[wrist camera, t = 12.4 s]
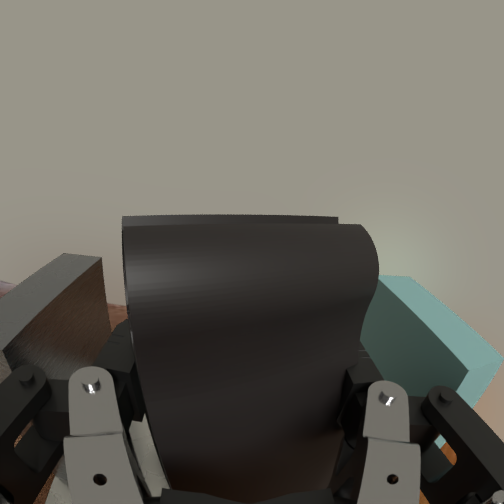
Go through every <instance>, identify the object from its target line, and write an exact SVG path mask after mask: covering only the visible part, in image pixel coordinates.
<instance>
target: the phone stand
mask: <svg viewBox="0 0 504 504" xmlns="http://www.w3.org/2000/svg"><path fill="white" fill-rule="evenodd" d="M122 255H123V272H124V285H125V295H126V306H127V315H128V323H129V331H130V338H131V343H132V349H133V354H134V358H135V362H136V367H137V372H138V376H139V381H140V385H141V390H142V394H143V399H144V403H145V407H146V411H145V416H146V420H147V423H148V427H149V430H150V434H151V437H152V440H153V443H154V446H155V449H156V452H157V455H158V458H159V461H160V464H161V467H162V470H163V472H164V475H165V478H166V480H167V483H168V485H169V488H170V489H172V490H179V491H187V492H196V493H205V494H208V495H212V496H215V497H219V498H223V499H227V500H231V501H236V502H241V503H246V504H252V503H257V502H261V501H265V500H269V499H273V498H277V497H280V496H284V495H287V494H291V493H298V492H307V491H314V490H321V489H326V488H327V487H328V485H329V482H330V480H331V477H332V473H333V470H334V466H335V462H336V459H337V455H338V451H339V447H340V442H341V439H342V437H343V436H344V431H343V428H342V426H341V425H340V424H339V423H338V422H336V420H337V415H338V411H339V406H340V401H341V396H342V391H343V385H344V380H345V374H346V368H349V367H351V366H353V365H355V364H357V363H358V359H359V343H360V336H361V330H362V326H363V322H364V318H365V315H366V312H367V310H368V307H369V305H370V302H371V300H372V298H373V296H374V294H375V291H376V288H377V284H378V278H379V262H378V256H377V252H376V248H375V245H374V243H373V241H372V239H371V237H370V235H369V234H368V232H367V231H366V230H365V229H364V227H363V226H361V225H359V224H358V225H357V224H338V217H325V216H291V215H153V216H152V215H151V216H123V217H122Z"/></svg>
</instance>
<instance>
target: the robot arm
mask: <svg viewBox="0 0 504 504" xmlns="http://www.w3.org/2000/svg"><path fill="white" fill-rule="evenodd" d="M365 350H366V349H365V348H364V346H363V345H362V343H361V341H360V343H359V359H358V363H357V364H355V365H353V366H351V367H349V368H346V374H345V380H344V385H343V391H342V396H341V401H340V406H339V411H338V415H337V420H336V422H338V423H339V424H340V425H341V426H342V428H343V431H344V436H343V437H342V439H341V442H340V447H339V451H338V455H337V459H336V462H335V466H334V470H333V473H332V477H331V480H330V482H329V485H328V487H327V488H326V489H321V490H314V491H307V492H298V493H291V494H287V495H284V496H280V497H277V498H273V499H269V500H265V501H261V502H257V503H252V504H419V494H420V490H421V491H422V493H423V494H424V496H425V497H426V499H427V500H428V502H429V503H430V504H504V443H503V442H502V441H501V439H500V438H499V437H498V436H497V435H496V434H495V433H494V432H493V430H492V429H491V428H490V427H489V426H488V425H487V424H486V423H485V422H484V421H483V420H482V419H481V418H480V417H479V415H478V414H477V413H476V412H475V411H474V410H473V409H472V408H471V407H470V406H469V405H468V404H467V403H466V402H465V401H464V400H463V399H462V398H461V396H460V395H459V394H458V393H457V392H455V391H454V390H453V389H451V388H449V387H446V386H434V387H433V388H431V389H430V391H429V392H428V394H427V396H426V397H418V396H408V395H407V393H406V391H405V390H404V389H403V388H402V387H401V386H399V385H398V384H396V383H394V382H390V381H385V380H384V378H383V377H382V375H381V373H380V372H379V370H378V369H377V367H376V365H375V364H374V362H373V360H372V359H371V358H370V356H369V354H368V352H367V351H365ZM145 411H146V407H145V403H144V399H143V394H142V390H141V385H140V381H139V376H138V372H137V367H136V362H135V358H134V354H133V349H132V343H131V338H130V331H129V323H128V319H126V320H124V321H123V322H121V323H120V324H118V325H117V326H116V328H115V329H114V331H113V332H112V335H111V336H110V337H109V339H108V340H107V343H106V344H105V345H104V347H103V348H102V350H101V352H100V353H99V355H98V357H97V358H96V360H95V362H94V363H93V365H92V366H91V367H84V368H81V369H79V370H77V371H76V372H74V373H73V374H72V376H71V377H70V379H69V380H57V379H47V376H46V374H45V372H44V370H43V369H42V368H40V367H39V366H37V365H31V364H29V365H23V366H20V367H18V368H17V369H15V370H14V371H13V372H12V373H11V374H10V375H9V376H8V377H7V378H6V379H5V380H4V381H3V382H2V383H1V384H0V504H33V503H34V501H35V499H36V498H37V496H38V494H39V493H40V491H41V489H42V487H43V486H44V484H45V483H46V481H47V479H48V478H49V476H50V474H51V473H52V471H53V469H54V468H55V466H56V465H57V463H58V462H59V460H60V458H61V457H62V455H63V454H64V455H65V464H66V472H67V479H68V485H69V491H70V496H71V501H72V504H246V503H241V502H236V501H231V500H227V499H223V498H219V497H215V496H212V495H208V494H205V493H196V492H187V491H179V490H172V489H166V488H162V491H161V496H156V497H152V495H151V492H150V490H149V488H148V485H147V483H146V481H145V478H144V476H143V473H142V470H141V467H140V464H139V461H138V458H137V455H136V451H135V448H134V445H133V441H132V438H131V434H130V431H129V429H130V426H131V422H132V421H137V422H142V421H143V417H144V414H145ZM29 422H31V423H32V425H31V427H30V428H29V429H28V431H27V432H26V433H25V435H24V436H23V437H22V438H21V440H20V441H19V442H18V444H17V445H16V446H15V448H14V443H15V440H16V439H17V438H18V436H19V435H20V434H21V432H22V431H23V430H24V429H25V427H26V426H27V425H28V424H29ZM440 434H441V435H442V437H443V438H444V439H445V440H446V442H447V443H448V444H449V445H450V447H451V448H452V449H453V450H454V452H455V453H456V456H457V461H456V464H455V465H452V464H451V463H450V461H449V460H448V459H447V457H446V456H445V455H444V454H443V452H442V451H441V450H440V448H439V447H438V446H437V445H436V443H435V440H436V439H437V438H438V437H439V436H440Z"/></svg>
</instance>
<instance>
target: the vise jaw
mask: <svg viewBox="0 0 504 504" xmlns="http://www.w3.org/2000/svg"><path fill="white" fill-rule="evenodd" d="M360 341H361V343H362V345H363V346H364V348H365V349H366V350H365V351H367V352H368V354H369V356H370V358H371V359H372V360H373V362H374V364H375V365H376V367H377V369H378V370H379V372H380V373H381V375H382V377H383V378H384V380H385V381H390V382H394V383H396V384H398V385H399V386H401V387H402V388H403V389H404V390H405V391H406V393H407V395H408V396H418V397H426V396H427V394H428V392H429V391H430V389H431V388H433V387H434V386H446V387H449V388H451V389H453V390H454V391H455V392H457V393H458V394H459V395H460V396H461V398H462V399H463V400H464V401H465V402H466V403H467V404H468V405H469V406H470V407H471V408H472V409H473V407H474V406H475V404H476V403H477V401H478V400H479V399H480V397H481V396H482V394H483V393H484V391H485V390H486V388H487V387H488V385H489V383H490V382H491V380H492V379H493V377H494V375H495V374H496V372H497V370H498V369H499V367H500V365H501V363H502V362H503V360H504V358H503V357H502V356H501V355H500V354H499V353H498V352H497V351H496V350H495V349H494V348H493V347H492V346H491V345H490V344H489V343H488V342H486V341H485V340H484V339H483V338H482V337H481V336H480V335H479V334H478V333H477V332H476V331H475V330H473V329H472V328H471V327H470V326H469V325H468V324H467V323H466V322H464V321H463V320H462V319H461V318H460V317H459V316H457V315H456V314H455V313H454V312H453V311H451V310H450V309H449V308H448V307H447V306H446V305H444V304H443V303H442V302H441V301H440V300H438V299H437V298H436V297H435V296H434V295H432V294H431V293H430V292H429V291H427V290H426V289H425V288H424V287H422V286H421V285H420V284H418V283H417V282H416V281H415V280H413V279H412V278H411V277H405V276H386V275H379V278H378V284H377V288H376V291H375V294H374V296H373V298H372V300H371V302H370V305H369V307H368V310H367V312H366V315H365V318H364V322H363V326H362V330H361V336H360ZM445 442H446V440H445V439H444V438H443V437H442V435H441V434H440V436H439V437H438V438H437V439H436V440H435V443H436V445H437V446H438V447H439V448H441V447H442V446H443V445H444V443H445Z"/></svg>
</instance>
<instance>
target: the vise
mask: <svg viewBox="0 0 504 504" xmlns="http://www.w3.org/2000/svg"><path fill="white" fill-rule="evenodd" d="M111 335H112V332H111V326H110V320H109V314H108V308H107V301H106V294H105V285H104V277H103V266H102V258H101V257H93V256H84V255H75V254H66V253H63V254H62V255H60V256H59V257H57V258H56V259H54V260H53V261H51V262H50V263H49V264H47V265H46V266H44V267H43V268H41V269H40V270H38V271H37V272H35V273H34V274H32V275H31V276H30V277H28V278H27V279H26V280H24V281H23V282H21V283H20V284H19V285H17V286H16V287H15V288H13V289H12V290H11V291H9V292H8V293H7V294H5V295H4V296H3V297H2V298H0V384H1V383H2V382H3V381H4V380H5V379H6V378H7V377H8V376H9V375H10V374H11V373H12V372H13V371H14V370H15V369H17V368H18V367H20V366H23V365H29V364H31V365H37V366H39V367H40V368H42V369H43V370H44V372H45V374H46V376H47V379H57V380H69V379H70V377H71V376H72V374H73V373H74V372H76V371H77V370H79V369H81V368H84V367H91V366H92V365H93V363H94V362H95V360H96V358H97V357H98V355H99V353H100V352H101V350H102V348H103V347H104V345H105V344H106V343H107V340H108V339H109V337H110V336H111ZM31 425H32V423H31V422H29V424H28V425H27V426H26V427H25V429H24V430H23V431H22V432H21V434H20V435H21V436H22V437H23V436H24V435H25V433H26V432H27V431H28V429H29V428H30V427H31ZM129 431H130V434H131V438H132V441H133V445H134V448H135V451H136V455H137V458H138V461H139V464H140V467H141V470H142V473H143V476H144V478H145V481H146V483H147V485H148V488H149V490H150V492H151V495H152V497H156V496H161V491H162V488H166V489H170V488H169V485H168V483H167V480H166V478H165V475H164V472H163V470H162V467H161V464H160V461H159V458H158V455H157V452H156V449H155V446H154V443H153V440H152V437H151V434H150V430H149V427H148V423H147V420H146V416H145V414H144V417H143V421H142V422H137V421H132V422H131V426H130V429H129ZM52 472H53V474H54V475H55V477H54V480H53V483H52V485H51V488H50V491H49V494H48V496H47V499H46V502H45V504H72V501H71V496H70V491H69V485H68V479H67V472H66V464H65V455H64V454H63V455H62V457H61V458H60V460H59V462H58V463H57V465H56V466H55V468H54V469H53V471H52Z"/></svg>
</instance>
